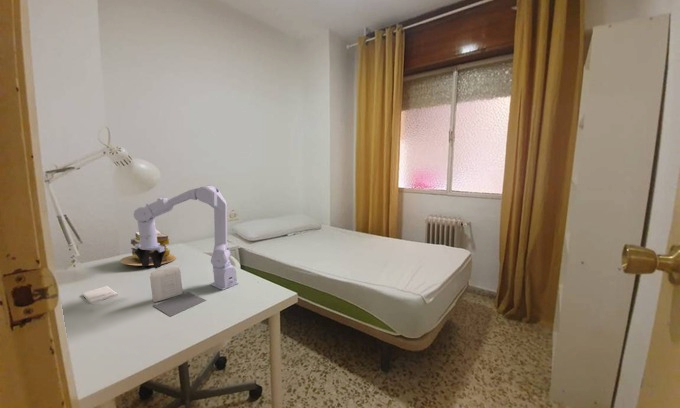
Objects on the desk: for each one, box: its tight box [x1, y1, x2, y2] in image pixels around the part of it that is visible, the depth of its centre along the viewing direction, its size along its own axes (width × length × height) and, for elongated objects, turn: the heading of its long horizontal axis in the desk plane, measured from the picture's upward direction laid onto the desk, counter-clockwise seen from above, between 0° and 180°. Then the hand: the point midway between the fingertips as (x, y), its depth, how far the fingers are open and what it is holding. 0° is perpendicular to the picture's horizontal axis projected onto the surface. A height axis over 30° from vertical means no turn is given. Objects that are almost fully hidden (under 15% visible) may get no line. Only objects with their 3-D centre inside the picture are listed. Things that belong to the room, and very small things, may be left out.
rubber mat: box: [152, 291, 207, 318], centre depth 100 cm, size 13×13×1 cm
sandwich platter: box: [119, 228, 177, 266], centre depth 143 cm, size 25×25×17 cm
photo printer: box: [149, 265, 184, 303], centre depth 104 cm, size 10×4×12 cm, turn 134°
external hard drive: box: [81, 285, 119, 305], centre depth 107 cm, size 2×8×12 cm
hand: (151, 266), depth 110 cm, fingers open, 6 cm apart
